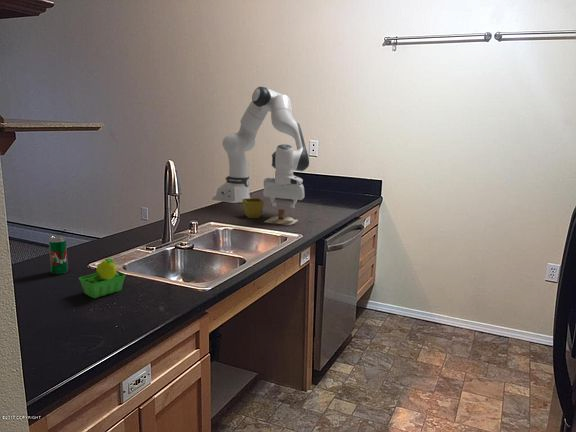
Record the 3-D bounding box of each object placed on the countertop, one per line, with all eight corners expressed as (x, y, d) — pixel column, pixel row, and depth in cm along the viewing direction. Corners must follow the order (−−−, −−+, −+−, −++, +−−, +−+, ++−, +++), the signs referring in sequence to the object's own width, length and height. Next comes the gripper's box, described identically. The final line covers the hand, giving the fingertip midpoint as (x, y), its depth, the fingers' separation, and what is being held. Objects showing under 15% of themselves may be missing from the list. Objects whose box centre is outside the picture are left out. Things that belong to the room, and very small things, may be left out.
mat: (263, 222, 235) (263, 221, 235) (272, 217, 246) (272, 216, 246) (291, 226, 231) (291, 225, 231) (298, 220, 242) (298, 219, 242)
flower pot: (263, 219, 243) (264, 201, 241) (246, 220, 240) (247, 202, 237) (258, 215, 251) (258, 198, 249) (241, 216, 247) (242, 198, 245)
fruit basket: (113, 283, 152) (112, 249, 149) (129, 291, 146) (128, 255, 144) (78, 293, 143) (76, 257, 141) (94, 302, 138) (92, 264, 135)
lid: (265, 222, 235) (265, 210, 233) (274, 217, 246) (274, 206, 244) (288, 224, 231) (289, 213, 230) (296, 219, 242) (297, 208, 241)
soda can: (63, 268, 163) (61, 234, 160) (71, 272, 160) (68, 237, 157) (48, 272, 159) (45, 237, 156) (55, 276, 156) (53, 240, 153)
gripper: (261, 178, 234) (261, 206, 237) (302, 181, 228) (301, 210, 231) (266, 176, 240) (265, 204, 243) (305, 179, 234) (305, 207, 237)
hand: (283, 207), depth 237 cm, fingers open, 8 cm apart
